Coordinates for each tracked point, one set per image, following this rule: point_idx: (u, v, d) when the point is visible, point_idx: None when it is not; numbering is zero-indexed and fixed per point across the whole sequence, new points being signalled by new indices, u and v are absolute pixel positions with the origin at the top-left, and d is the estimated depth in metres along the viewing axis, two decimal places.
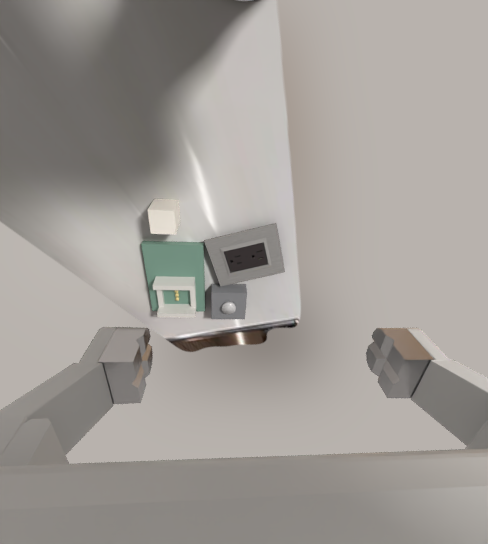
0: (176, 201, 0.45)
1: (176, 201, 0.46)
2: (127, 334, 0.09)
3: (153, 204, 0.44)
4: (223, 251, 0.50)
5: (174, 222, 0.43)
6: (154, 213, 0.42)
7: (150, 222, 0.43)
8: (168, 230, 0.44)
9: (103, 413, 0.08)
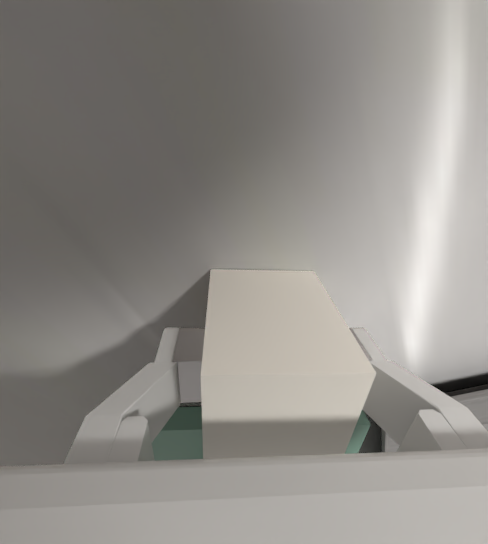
0: (314, 282, 0.10)
1: (314, 281, 0.10)
2: (192, 334, 0.09)
3: (220, 307, 0.08)
4: None
5: None
6: (247, 392, 0.06)
7: (210, 433, 0.07)
8: None
9: (173, 411, 0.08)
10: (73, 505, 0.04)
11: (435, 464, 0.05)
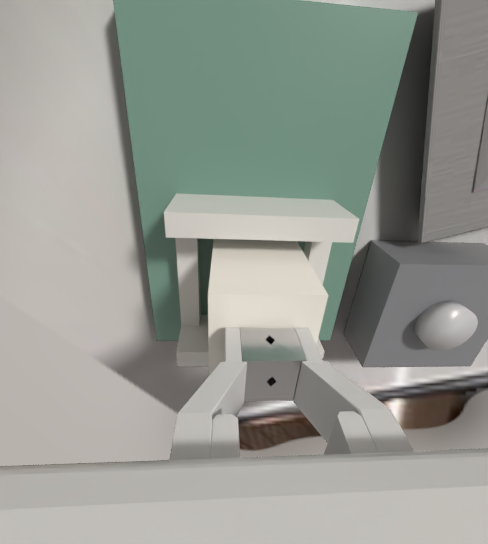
0: (294, 245, 0.13)
1: (294, 245, 0.13)
2: (254, 334, 0.09)
3: (221, 259, 0.11)
4: None
5: (313, 337, 0.10)
6: (239, 308, 0.09)
7: (214, 341, 0.10)
8: None
9: (239, 410, 0.08)
10: (73, 505, 0.04)
11: (435, 464, 0.05)
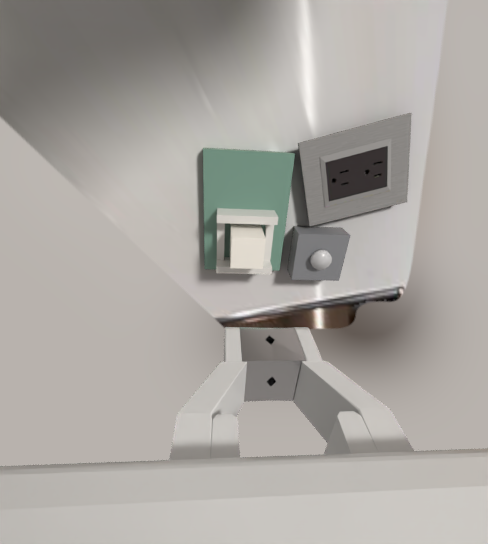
0: (259, 226, 0.36)
1: (259, 226, 0.36)
2: (254, 334, 0.09)
3: (234, 230, 0.34)
4: (325, 162, 0.33)
5: (263, 253, 0.33)
6: (240, 242, 0.32)
7: (232, 253, 0.33)
8: (253, 263, 0.34)
9: (239, 410, 0.08)
10: (73, 505, 0.04)
11: (435, 464, 0.05)
